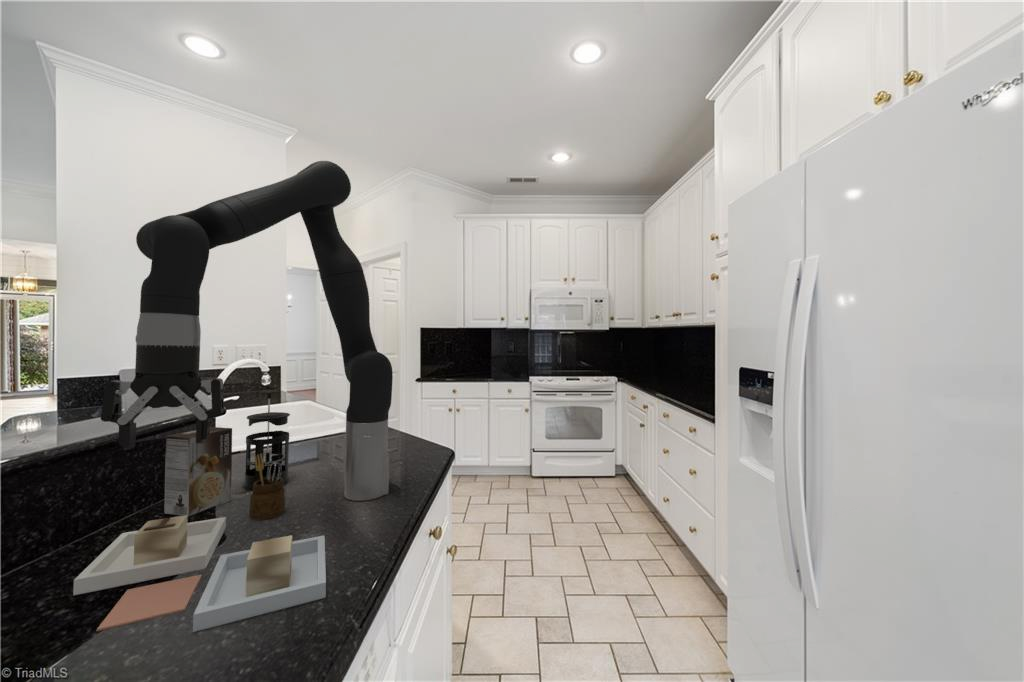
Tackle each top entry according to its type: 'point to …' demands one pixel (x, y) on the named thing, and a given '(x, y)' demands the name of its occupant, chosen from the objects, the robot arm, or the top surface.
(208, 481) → the coffee box
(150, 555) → the letter cube
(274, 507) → the utensil holder
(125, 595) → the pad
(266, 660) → the top surface
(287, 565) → the plain cube
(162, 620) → the top surface
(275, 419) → the french press
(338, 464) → the top surface
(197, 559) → the white tray
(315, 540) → the blue tray
